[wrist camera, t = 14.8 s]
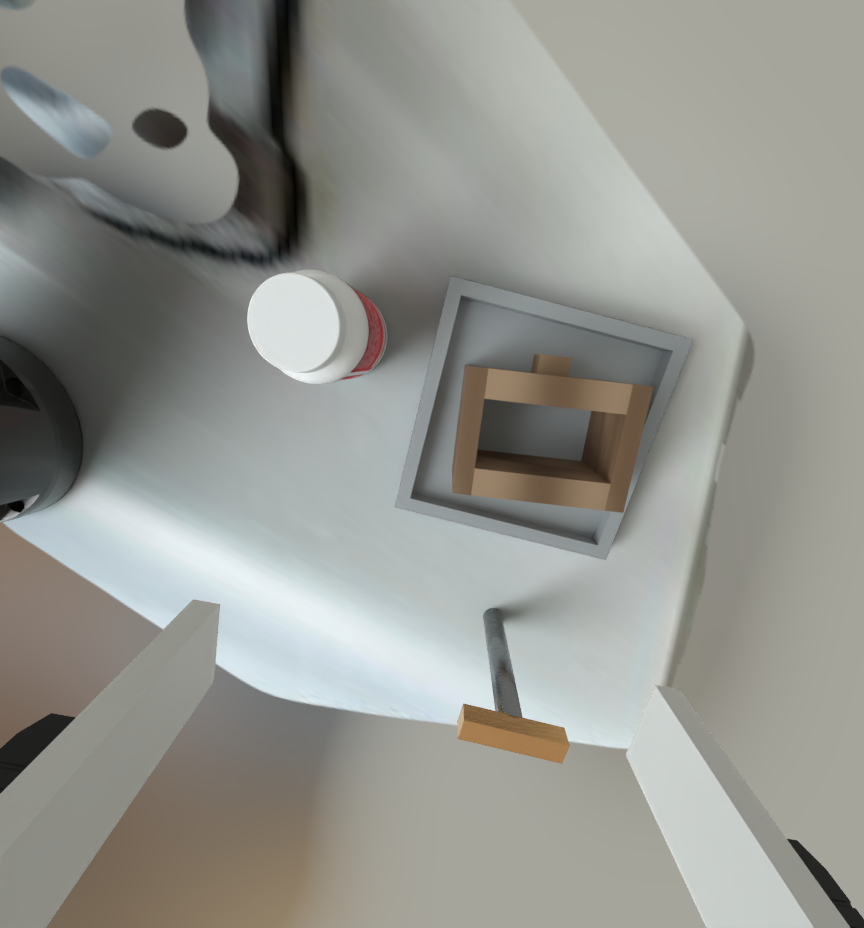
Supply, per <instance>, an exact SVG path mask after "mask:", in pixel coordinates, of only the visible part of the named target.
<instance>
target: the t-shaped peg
mask: <svg viewBox="0 0 864 928" xmlns="http://www.w3.org/2000/svg"><path fill="white" fill-rule="evenodd" d="M483 619H484V626H485V634H486V642H487V649H488V657H489V664H490V672H491V679H492V687H493V695H494V702H495V710H496V711H492V710H488V709H484V708H480V707H475V706H471V705H467V704H463V706H462V709H461V712H460V715H459V718H458V721H457V722H458V739H461V740H465V741H469V742H473V743H478V744H482V745H486V746H490V747H495V748H499V749H503V750H507V751H511V752H515V753H520V754H524V755H528V756H532V757H536V758H541V759H545V760H549V761H553V762H557V763H562V762H563V760H564V758H565V755H566V752H567V750H568V748H569V746H570V745H569V742H568V739H567V736H566V732H565V729H564V728H563V727H559V726H554V725H550V724H546V723H542V722H538V721H534V720H529V719H525V718H522V713H521V708H520V704H519V699H518V694H517V689H516V684H515V679H514V674H513V669H512V664H511V659H510V655H509V650H508V645H507V640H506V635H505V630H504V625H503V620H502V615H501V613H500V612H499V611H498V610H497V609H488V610H487V611H486V612H485V613H484V615H483Z"/></svg>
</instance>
